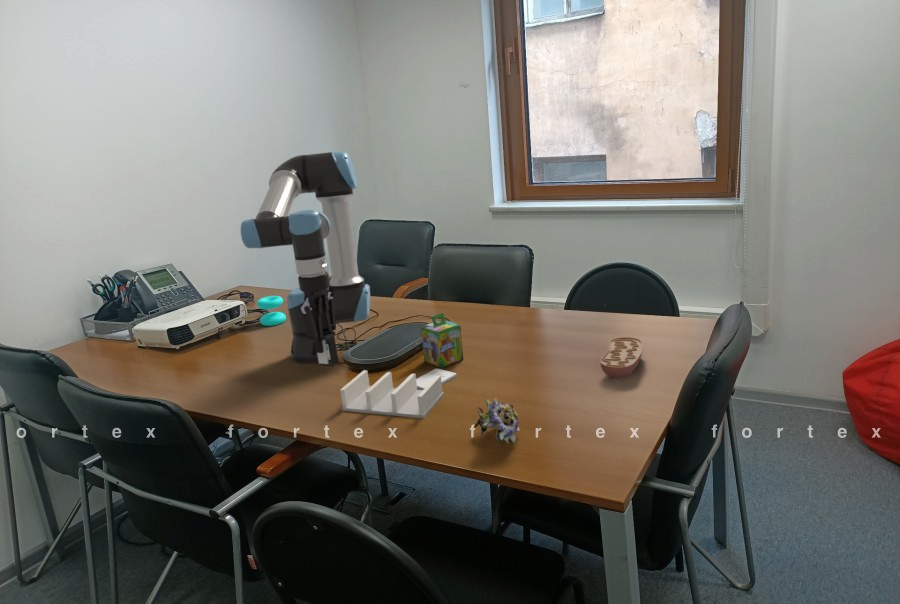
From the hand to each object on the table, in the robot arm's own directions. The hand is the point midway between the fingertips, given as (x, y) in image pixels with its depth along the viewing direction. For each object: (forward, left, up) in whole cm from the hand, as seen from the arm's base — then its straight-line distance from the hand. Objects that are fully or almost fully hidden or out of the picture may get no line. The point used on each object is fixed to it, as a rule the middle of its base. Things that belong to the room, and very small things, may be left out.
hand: (326, 361), depth 164 cm
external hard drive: (-23, +19, -15) cm, 33 cm away
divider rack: (-8, +14, -14) cm, 21 cm away
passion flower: (+5, +46, -15) cm, 49 cm away
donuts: (-65, -67, -15) cm, 95 cm away
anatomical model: (-41, +70, -15) cm, 82 cm away
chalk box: (-38, +16, -15) cm, 44 cm away
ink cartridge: (0, 0, -1) cm, 1 cm away
